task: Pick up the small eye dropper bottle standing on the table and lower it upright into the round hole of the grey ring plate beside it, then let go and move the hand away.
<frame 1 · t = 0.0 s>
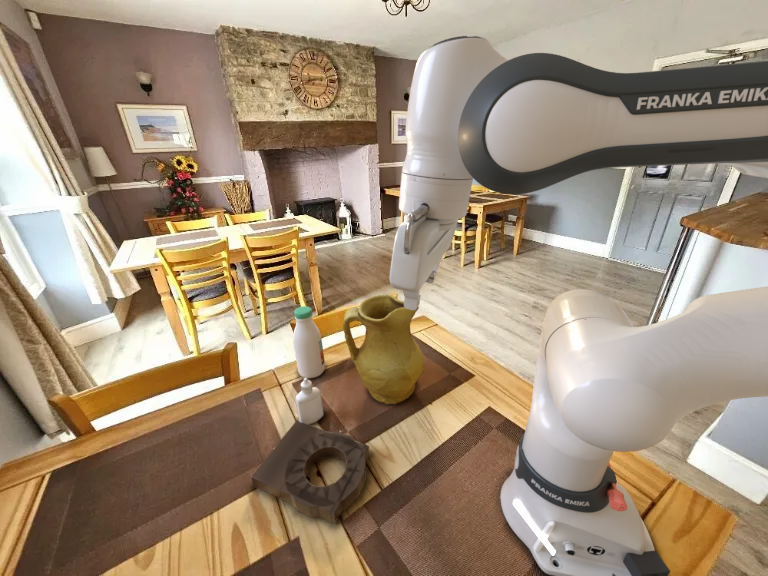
hand: (420, 293, 46), 39 cm above the table, tool pointing down, fingers open, 8 cm apart
grey ring plate: (314, 470, 62), on the table
pitcher: (388, 385, 84), on the table
eye dropper bottle: (311, 418, 74), on the table
milk bottle: (312, 370, 90), on the table
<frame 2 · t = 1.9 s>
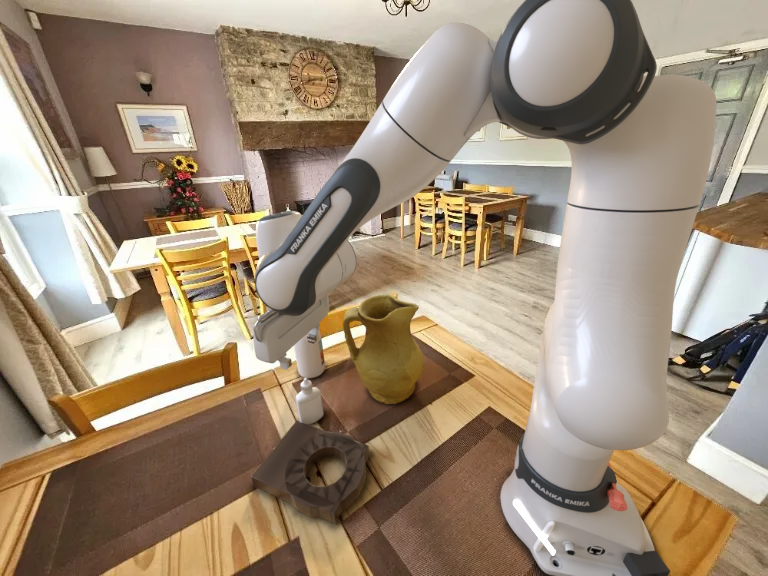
hand: (300, 353, 66), 19 cm above the table, tool pointing down, fingers open, 8 cm apart
nothing on the table moved.
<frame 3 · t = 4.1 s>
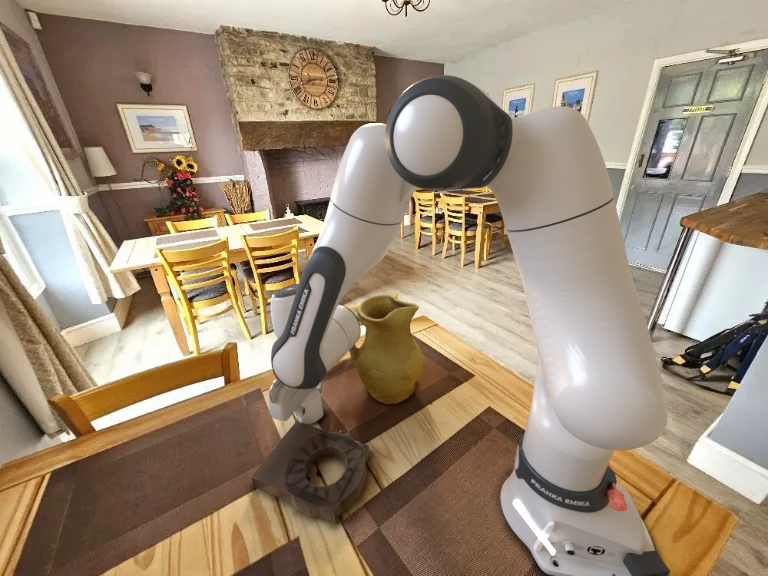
hand: (309, 403, 72), 5 cm above the table, tool pointing down, fingers closed on eye dropper bottle, 5 cm apart
eye dropper bottle: (311, 418, 74), on the table, touching gripper
everything else where it was.
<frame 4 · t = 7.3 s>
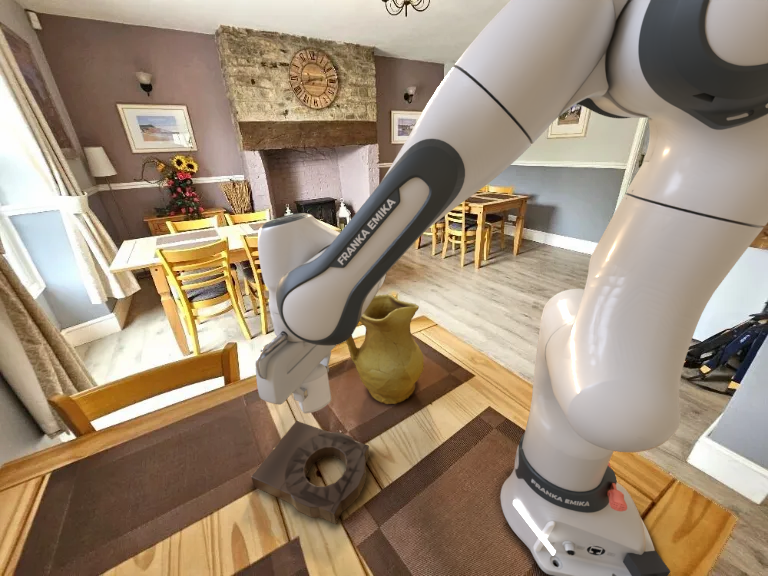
hand: (313, 385, 55), 21 cm above the table, tool pointing down, fingers closed on eye dropper bottle, 5 cm apart
eye dropper bottle: (316, 405, 57), point 16 cm above the table, touching gripper
everything else where it was.
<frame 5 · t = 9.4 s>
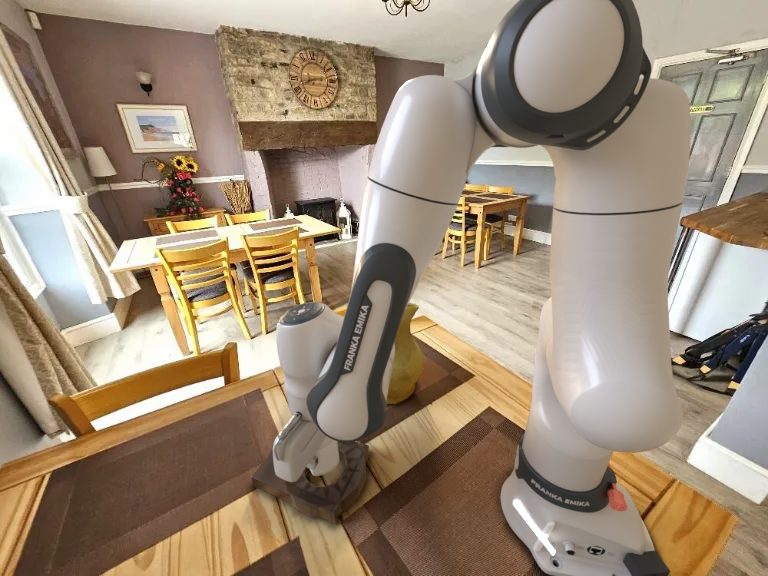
hand: (323, 449, 58), 7 cm above the table, tool pointing down, fingers closed on eye dropper bottle, 5 cm apart
eye dropper bottle: (325, 466, 60), point 3 cm above the table, touching gripper
everything else where it was.
when the fingers open (4 cm above the table, at t = 10.8 s): eye dropper bottle stays where it is, resting in grey ring plate.
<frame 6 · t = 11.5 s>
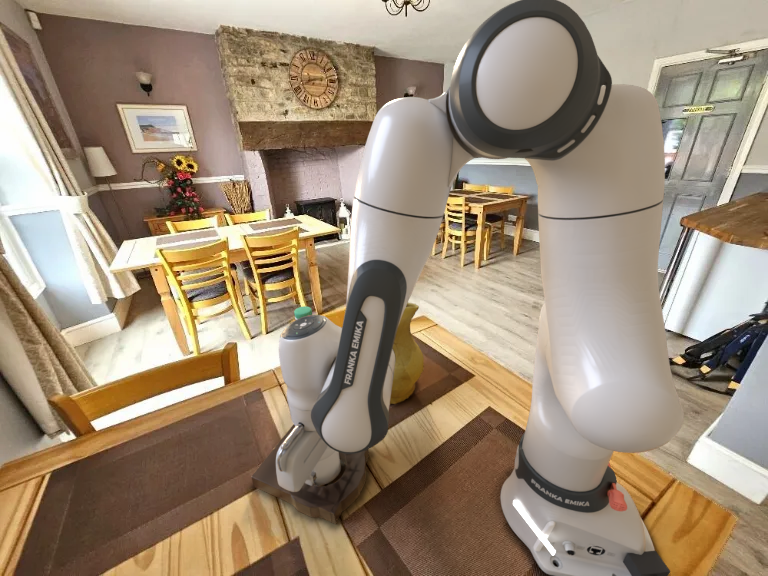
hand: (324, 458, 59), 5 cm above the table, tool pointing down, fingers open, 8 cm apart
eye dropper bottle: (326, 476, 61), resting in grey ring plate
everything else where it was.
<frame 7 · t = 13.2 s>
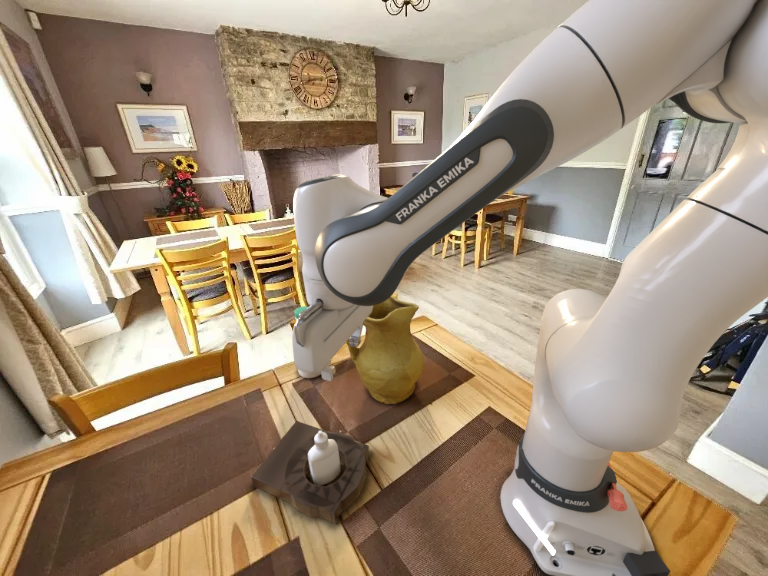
hand: (343, 360, 53), 25 cm above the table, tool pointing down, fingers open, 8 cm apart
nothing on the table moved.
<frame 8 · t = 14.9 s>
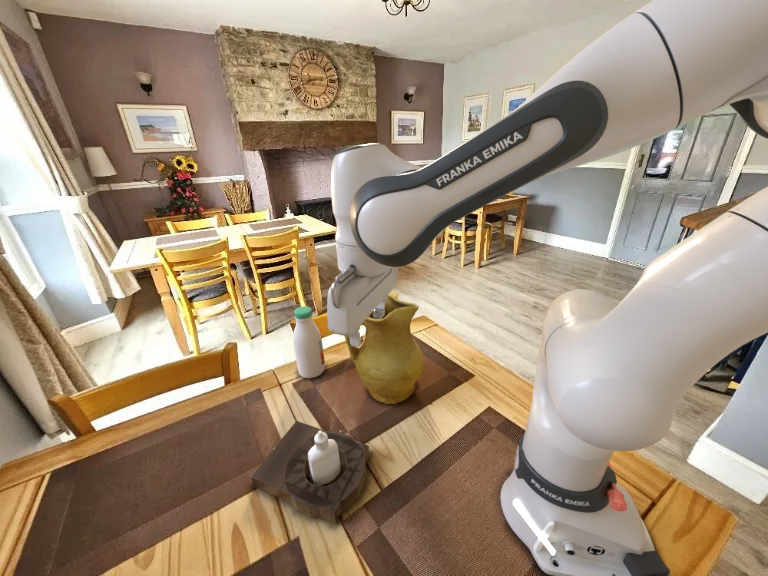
hand: (368, 329, 55), 29 cm above the table, tool pointing down, fingers open, 8 cm apart
nothing on the table moved.
at the end: eye dropper bottle 0.1 cm from the target spot in the grey ring plate, point 0.0 cm above the grey ring plate's base; eye dropper bottle tilted 0°; the gripper is holding nothing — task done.
